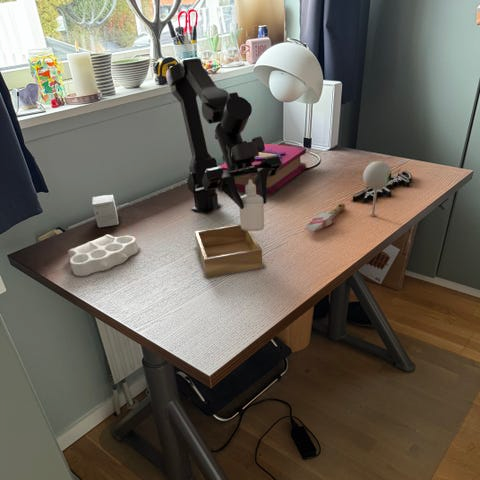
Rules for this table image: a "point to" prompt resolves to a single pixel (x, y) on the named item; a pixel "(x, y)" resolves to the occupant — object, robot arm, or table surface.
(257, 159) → the book
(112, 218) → the product box
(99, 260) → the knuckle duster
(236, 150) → the robot arm
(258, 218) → the eye dropper bottle
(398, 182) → the nameplate
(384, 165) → the lollipop
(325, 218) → the cricket bat
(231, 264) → the crate
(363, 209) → the table surface
